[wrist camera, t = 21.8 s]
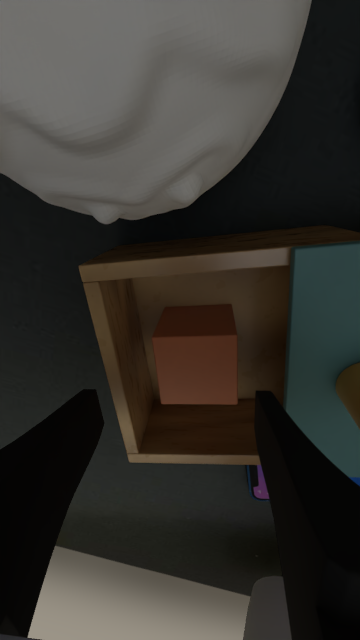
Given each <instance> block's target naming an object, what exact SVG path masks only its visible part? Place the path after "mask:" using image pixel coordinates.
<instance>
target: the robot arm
mask: <svg viewBox="0 0 360 640" xmlns="http://www.w3.org/2000/svg"><path fill="white" fill-rule="evenodd" d="M103 426H104V420H103V416H102V412H101V408H100V404H99V400H98V396H97V392H96V389H83V390H82V391H81V392H79V393H78V394H76V395H75V396H74V397H73V398H71V399H70V400H69V401H67V402H66V403H65V404H64V405H62V406H61V407H60V408H59V409H57V410H56V411H55V412H53V413H52V414H51V415H50V416H48V417H47V418H46V419H44V420H43V421H42V422H40V423H39V424H37V425H36V426H35V427H33V428H32V429H31V430H29V431H28V432H26V433H25V434H24V435H22V436H21V437H19V438H18V439H16V440H15V441H13V442H12V443H10V444H8V445H7V446H5V447H4V448H2V449H0V640H40V639H32V638H27V637H28V632H29V629H30V626H31V622H32V619H33V615H34V612H35V608H36V605H37V601H38V598H39V594H40V591H41V588H42V584H43V581H44V578H45V575H46V572H47V568H48V565H49V562H50V559H51V556H52V553H53V550H54V547H55V544H56V541H57V538H58V535H59V532H60V529H61V527H62V524H63V521H64V519H65V516H66V513H67V510H68V508H69V505H70V503H71V500H72V498H73V496H74V493H75V491H76V489H77V487H78V485H79V483H80V481H81V479H82V477H83V474H84V472H85V470H86V468H87V466H88V464H89V462H90V460H91V457H92V455H93V453H94V451H95V449H96V447H97V444H98V441H99V438H100V436H101V432H102V429H103ZM254 430H255V437H256V445H257V451H258V455H259V459H260V463H261V467H262V471H263V475H264V479H265V483H266V487H267V491H268V495H269V499H270V503H271V508H272V513H273V517H274V523H275V530H276V536H277V542H278V548H279V555H280V562H281V568H282V575H283V581H284V588H285V595H286V602H287V609H288V616H289V624H290V631H291V639H292V640H360V486H359V485H358V484H356V483H355V482H354V481H353V480H351V479H350V478H349V477H348V476H347V475H346V474H344V473H343V472H342V471H341V470H340V469H339V468H338V467H337V466H336V465H335V464H333V463H332V462H331V461H330V460H329V459H328V458H327V457H326V456H325V455H324V454H323V453H322V452H321V451H320V450H319V449H318V448H317V447H316V446H315V445H314V444H313V443H312V441H311V440H310V439H309V438H308V437H307V436H306V435H305V434H304V433H303V431H302V430H301V429H300V428H299V427H298V426H297V424H296V423H295V422H294V421H293V420H292V418H291V417H290V416H289V415H288V413H287V412H286V411H285V409H284V408H283V407H282V405H281V404H280V403H279V401H278V400H277V398H276V397H275V395H274V394H273V393H272V392H271V391H256V394H255V418H254Z"/></svg>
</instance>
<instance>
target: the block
mask: <svg viewBox="0 0 360 640" xmlns="http://www.w3.org/2000/svg"><path fill="white" fill-rule="evenodd" d="M152 345H153V352H154V359H155V366H156V373H157V380H158V387H159V394H160V401H161V404H226V405H237V404H238V334H237V329H236V324H235V318H234V313H233V307H232V305H231V304H225V305H201V306H177V307H165V308H164V310H163V313H162V315H161V317H160V319H159V322H158V324H157V326H156V329H155V331H154V333H153V335H152Z"/></svg>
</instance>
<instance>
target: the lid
mask: <svg viewBox="0 0 360 640" xmlns="http://www.w3.org/2000/svg"><path fill="white" fill-rule="evenodd" d="M283 408H284V409H285V411H286V412H287V413H288V415H289V416H290V417H291V418H292V420H293V421H294V422H295V423H296V424H297V426H298V427H299V428H300V429H301V430H302V431H303V433H304V434H305V435H306V436H307V437H308V438H309V439H310V440H311V441H312V443H313V444H314V445H315V446H316V447H317V448H318V449H319V450H320V451H321V452H322V453H323V454H324V455H325V456H326V457H327V458H328V459H329V460H330V461H331V462H332V463H333V464H335V465H336V466H337V467H338V468H339V469H340V470H341V471H342V472H343V473H344V474H346V475H347V476H348V477H360V241H350V242H339V243H328V244H317V245H306V246H295V247H292V248H291V261H290V281H289V300H288V320H287V339H286V359H285V378H284V398H283Z"/></svg>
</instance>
